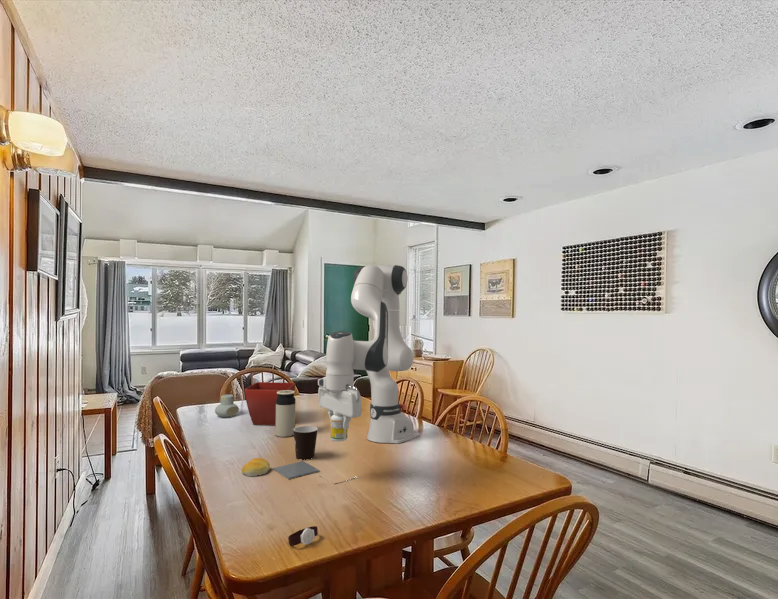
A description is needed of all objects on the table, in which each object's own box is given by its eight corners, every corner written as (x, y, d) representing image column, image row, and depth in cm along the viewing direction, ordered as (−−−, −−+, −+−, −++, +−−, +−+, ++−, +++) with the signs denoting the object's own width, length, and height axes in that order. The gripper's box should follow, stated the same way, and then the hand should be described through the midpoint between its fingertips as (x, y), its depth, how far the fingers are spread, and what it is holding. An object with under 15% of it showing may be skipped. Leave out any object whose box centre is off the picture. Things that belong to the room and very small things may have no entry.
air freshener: (222, 419, 214) (223, 398, 215) (211, 417, 219) (212, 396, 219) (241, 415, 224) (242, 394, 224) (230, 412, 228) (231, 392, 228)
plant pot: (286, 428, 201) (286, 389, 202) (243, 427, 202) (243, 389, 202) (295, 417, 221) (296, 382, 221) (256, 416, 221) (256, 382, 221)
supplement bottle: (338, 442, 141) (339, 411, 141) (327, 439, 145) (327, 409, 145) (350, 439, 145) (351, 409, 145) (339, 435, 149) (339, 406, 149)
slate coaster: (303, 462, 157) (303, 461, 157) (319, 471, 149) (319, 470, 149) (273, 469, 150) (273, 467, 150) (288, 479, 142) (288, 477, 142)
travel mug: (292, 437, 187) (293, 393, 187) (273, 437, 187) (273, 393, 187) (296, 432, 195) (297, 390, 195) (278, 431, 195) (278, 389, 195)
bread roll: (237, 476, 145) (237, 463, 145) (251, 466, 153) (251, 454, 153) (261, 478, 143) (261, 465, 143) (273, 468, 152) (274, 456, 152)
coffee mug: (312, 462, 158) (312, 433, 158) (288, 460, 160) (289, 431, 160) (323, 451, 169) (323, 424, 170) (301, 449, 171) (302, 423, 171)
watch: (295, 551, 101) (296, 535, 101) (283, 544, 104) (283, 528, 104) (322, 538, 107) (322, 523, 107) (309, 532, 110) (309, 516, 110)
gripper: (367, 386, 139) (366, 431, 139) (331, 377, 155) (330, 418, 155) (350, 388, 135) (349, 435, 135) (315, 379, 151) (314, 421, 151)
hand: (339, 426), depth 145 cm, fingers closed on supplement bottle, 5 cm apart
